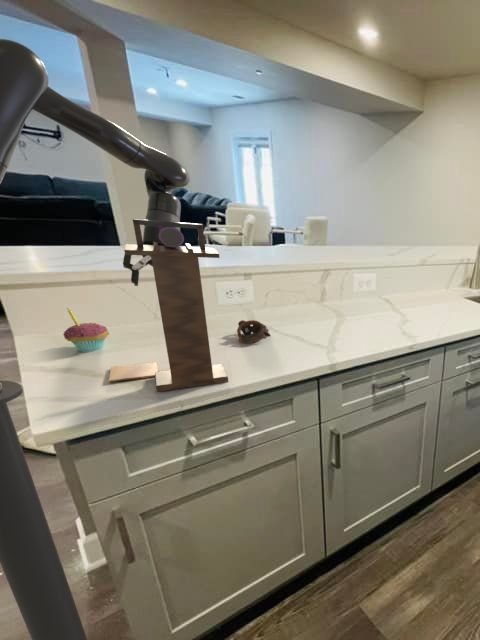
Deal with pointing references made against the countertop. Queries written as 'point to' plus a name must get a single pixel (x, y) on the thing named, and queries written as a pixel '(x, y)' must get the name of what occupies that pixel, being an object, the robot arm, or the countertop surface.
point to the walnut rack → (181, 308)
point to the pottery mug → (251, 331)
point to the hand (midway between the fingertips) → (157, 288)
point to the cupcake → (86, 335)
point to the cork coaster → (133, 371)
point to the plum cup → (170, 236)
